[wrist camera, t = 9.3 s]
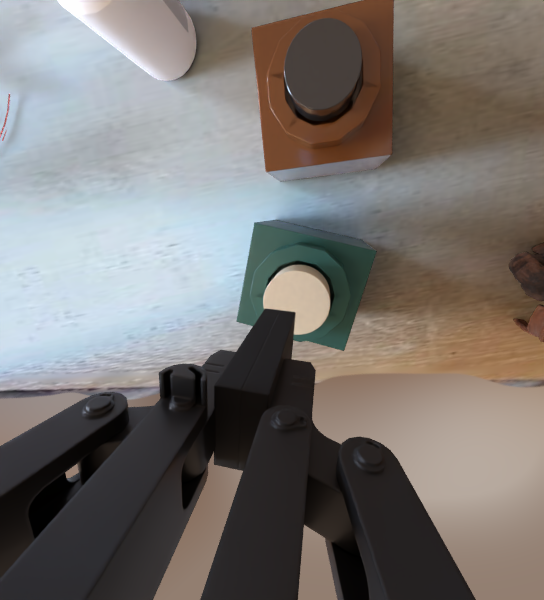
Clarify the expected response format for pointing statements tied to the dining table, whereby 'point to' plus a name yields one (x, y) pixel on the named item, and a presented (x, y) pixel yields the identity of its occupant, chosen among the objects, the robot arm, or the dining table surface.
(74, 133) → the dining table surface
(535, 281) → the brown jagged looped figure
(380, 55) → the brown push button box
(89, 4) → the white bottle
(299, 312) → the beige cylinder
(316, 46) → the dark gray button
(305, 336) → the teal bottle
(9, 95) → the figurine
